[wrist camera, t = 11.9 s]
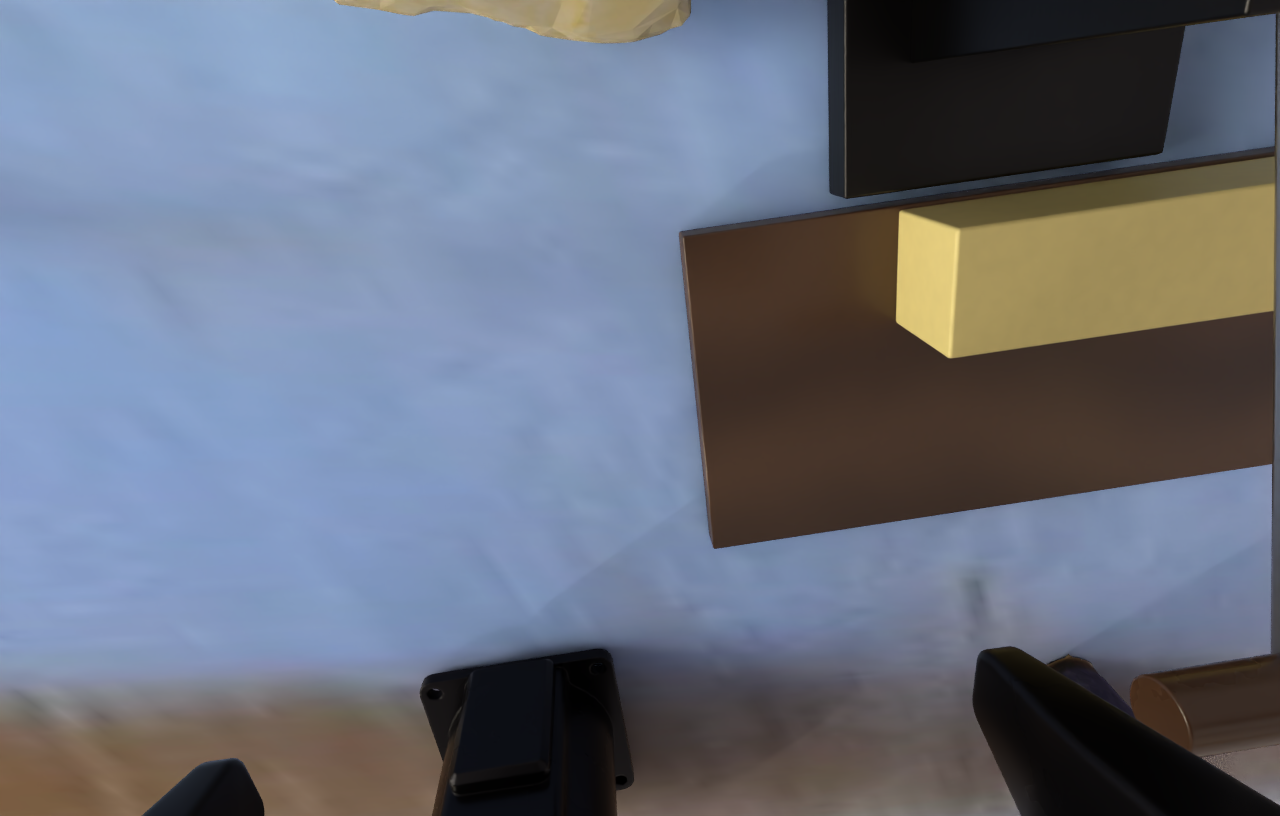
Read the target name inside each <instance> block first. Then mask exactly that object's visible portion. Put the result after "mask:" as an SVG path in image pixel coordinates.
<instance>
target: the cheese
mask: <svg viewBox="0 0 1280 816" xmlns="http://www.w3.org/2000/svg"><path fill="white" fill-rule="evenodd" d="M334 1H335V2H337V3H338V4H340V5H348V6H355V7H362V8H369V9H377V10H382V11H387V12H392V13H397V14H403V15H410V16H415V15H419V14H423V13H427V12H430V11H449V12H462V13H473V14H477V15H481V16H484V17H488V18H491V19H493V20H495V21H501V22H505V23H507V24H509V25H512V26H515V27H522V28H527V29H529V30H531V31H533V32H535V33H537V34H539V35H541V36H547V37H553V38H560V39H567V40H575V41H585V42H595V43H625V42H635V41H638V40H642V39H645V38H649V37H653V36H656V35H660V34H662V33H664V32H665V31H667V30H669V29H671V28H675V27H679V26H682V25H683V23H684V22H685V21H686V20H687V18H688V17H689V16H690V13H691V0H334Z"/></svg>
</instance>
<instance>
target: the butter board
mask: <svg viewBox="0 0 1280 816" xmlns="http://www.w3.org/2000/svg"><path fill="white" fill-rule="evenodd" d="M1274 156H1275V146H1273V147H1266V148H1259V149H1252V150H1245V151H1238V152H1232V153H1225V154H1218V155H1211V156H1204V157H1197V158H1190V159H1183V160H1176V161H1169V162H1162V163H1155V164H1148V165H1141V166H1134V167H1127V168H1120V169H1113V170H1106V171H1099V172H1092V173H1085V174H1078V175H1071V176H1064V177H1057V178H1050V179H1043V180H1036V181H1029V182H1022V183H1015V184H1008V185H1001V186H994V187H987V188H980V189H973V190H966V191H959V192H952V193H945V194H938V195H931V196H924V197H917V198H910V199H903V200H896V201H889V202H882V203H875V204H868V205H861V206H854V207H847V208H840V209H833V210H826V211H820V212H813V213H806V214H799V215H792V216H785V217H778V218H771V219H764V220H757V221H750V222H743V223H736V224H729V225H722V226H715V227H708V228H701V229H694V230H687V231H681V232H679V240H680V250H681V260H682V270H683V280H684V290H685V299H686V309H687V319H688V329H689V339H690V349H691V358H692V368H693V378H694V388H695V398H696V408H697V417H698V427H699V437H700V447H701V457H702V467H703V476H704V486H705V496H706V506H707V516H708V526H709V535H710V538H711V542H712V545H713V548H714V549H717V548H724V547H730V546H737V545H743V544H750V543H756V542H763V541H770V540H776V539H783V538H789V537H796V536H802V535H809V534H815V533H822V532H829V531H835V530H842V529H848V528H855V527H861V526H868V525H875V524H881V523H888V522H894V521H901V520H907V519H914V518H920V517H927V516H934V515H940V514H947V513H953V512H960V511H966V510H973V509H980V508H986V507H993V506H999V505H1006V504H1012V503H1019V502H1025V501H1032V500H1039V499H1045V498H1052V497H1058V496H1065V495H1071V494H1078V493H1085V492H1091V491H1098V490H1104V489H1111V488H1117V487H1124V486H1130V485H1137V484H1144V483H1150V482H1157V481H1163V480H1170V479H1176V478H1183V477H1190V476H1196V475H1203V474H1209V473H1216V472H1222V471H1229V470H1235V469H1242V468H1249V467H1255V466H1262V465H1268V464H1272V447H1273V321H1274V311H1269V312H1262V313H1255V314H1249V315H1242V316H1235V317H1228V318H1221V319H1215V320H1208V321H1201V322H1194V323H1188V324H1181V325H1174V326H1167V327H1161V328H1154V329H1147V330H1140V331H1134V332H1127V333H1120V334H1113V335H1107V336H1100V337H1093V338H1086V339H1080V340H1073V341H1066V342H1059V343H1053V344H1046V345H1039V346H1032V347H1025V348H1019V349H1012V350H1005V351H998V352H992V353H985V354H978V355H971V356H965V357H958V358H948V357H946V356H945V355H943V354H942V353H940V352H939V351H937V350H936V349H935V348H933V347H932V346H930V345H929V344H927V343H926V342H924V341H923V340H921V339H920V338H918V337H917V336H915V335H914V334H913V333H911V332H910V331H908V330H907V329H905V328H904V327H902V326H901V325H899V324H898V323H897V322H896V301H897V267H898V233H899V212H900V211H902V210H905V209H912V208H918V207H925V206H932V205H939V204H946V203H953V202H960V201H967V200H974V199H981V198H988V197H995V196H1002V195H1009V194H1016V193H1023V192H1030V191H1037V190H1044V189H1051V188H1058V187H1065V186H1072V185H1079V184H1086V183H1093V182H1100V181H1107V180H1114V179H1121V178H1128V177H1135V176H1142V175H1148V174H1155V173H1162V172H1169V171H1176V170H1183V169H1190V168H1197V167H1204V166H1211V165H1218V164H1225V163H1232V162H1239V161H1246V160H1253V159H1260V158H1267V157H1274Z"/></svg>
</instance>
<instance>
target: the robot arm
mask: <svg viewBox="0 0 1280 816" xmlns="http://www.w3.org/2000/svg"><path fill="white" fill-rule="evenodd" d="M596 663H601V664H602V665H600V666H595V665H593V664H596ZM433 689H439V691H437V690H433ZM420 698H421V700H422V703H423V706H424V709H425V712H426V715H427V717H428V720H429V723H430V726H431V729H432V732H433V734H434V737H435V740H436V743H437V746H438V748H439V751H440V754H441V757H442V760H443V766H442V771H441V776H440V780H439V785H438V790H437V794H436V799H435V804H434V809H433V813H432V816H617V801H616V790H622V789H625V788H628V787H629V786H631V785H632V783H633V782H634V772H633V765H632V760H631V754H630V749H629V744H628V738H627V733H626V728H625V723H624V717H623V712H622V707H621V701H620V696H619V691H618V686H617V680H616V675H615V670H614V664H613V659H612V656H611V654H610V653H609V652H608V651H606V650H603V649H592V650H586V651H579V652H573V653H566V654H560V655H553V656H547V657H540V658H534V659H528V660H521V661H515V662H508V663H502V664H495V665H489V666H482V667H476V668H469V669H463V670H456V671H450V672H443V673H437V674H432V675H429V676H427V677H426V678H425V679H424V681H423V683H422V686H421V690H420ZM972 701H973V708H974V712H975V715H976V718H977V721H978V723H979V725H980V727H981V729H982V732H983V734H984V736H985V738H986V740H987V742H988V745H989V747H990V749H991V751H992V753H993V755H994V758H995V760H996V762H997V764H998V766H999V769H1000V771H1001V773H1002V775H1003V777H1004V779H1005V782H1006V784H1007V786H1008V788H1009V790H1010V792H1011V795H1012V797H1013V799H1014V801H1015V803H1016V805H1017V808H1018V810H1019V812H1020V814H1021V816H1280V805H1278V804H1276V803H1275V802H1273V801H1271V800H1270V799H1268V798H1266V797H1265V796H1263V795H1261V794H1260V793H1258V792H1256V791H1255V790H1253V789H1251V788H1250V787H1248V786H1246V785H1245V784H1243V783H1242V782H1240V781H1238V780H1237V779H1235V778H1233V777H1232V776H1230V775H1228V774H1227V773H1225V772H1223V771H1222V770H1220V769H1218V768H1217V767H1215V766H1213V765H1212V764H1210V763H1208V762H1207V761H1205V760H1203V759H1202V758H1200V757H1198V756H1197V755H1195V754H1193V753H1192V752H1190V751H1188V750H1187V749H1185V748H1183V747H1182V746H1180V745H1178V744H1177V743H1175V742H1173V741H1172V740H1170V739H1168V738H1167V737H1165V736H1163V735H1162V734H1160V733H1158V732H1157V731H1155V730H1154V729H1152V728H1150V727H1149V726H1147V725H1145V724H1144V723H1142V722H1140V721H1139V720H1137V719H1135V718H1134V717H1132V716H1130V715H1129V714H1127V713H1125V712H1124V711H1122V710H1120V709H1119V708H1117V707H1115V706H1114V705H1112V704H1110V703H1109V702H1107V701H1105V700H1104V699H1102V698H1100V697H1099V696H1097V695H1095V694H1094V693H1092V692H1090V691H1089V690H1087V689H1085V688H1084V687H1082V686H1080V685H1079V684H1077V683H1075V682H1074V681H1072V680H1070V679H1069V678H1067V677H1066V676H1064V675H1062V674H1061V673H1059V672H1057V671H1056V670H1054V669H1052V668H1051V667H1049V666H1047V665H1046V664H1044V663H1042V662H1041V661H1039V660H1037V659H1036V658H1034V657H1032V656H1031V655H1029V654H1027V653H1026V652H1024V651H1022V650H1020V649H1018V648H1016V647H1011V646H1008V647H1000V648H993V649H987V650H983V651H981V652H980V654H979V655H978V658H977V664H976V672H975V680H974V688H973V698H972ZM142 816H264V806H263V801H262V799H261V797H260V795H259V793H258V791H257V789H256V787H255V785H254V783H253V781H252V779H251V777H250V775H249V773H248V771H247V769H246V767H245V765H244V764H243V762H242V761H240V760H238V759H236V758H230V759H223V760H217V761H210V762H205V763H203V764H201V765H199V766H197V767H196V768H195V769H193V770H192V771H191V772H190V773H189V774H188V775H187V776H186V777H184V778H183V779H182V780H181V781H180V782H179V783H178V784H177V785H176V786H174V787H173V788H172V789H171V790H170V791H169V792H168V793H167V794H166V795H164V796H163V797H162V798H161V799H160V800H159V801H158V802H157V803H156V804H154V805H153V806H152V807H151V808H150V809H149V810H148V811H147V812H145V813H144V814H143V815H142Z"/></svg>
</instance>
